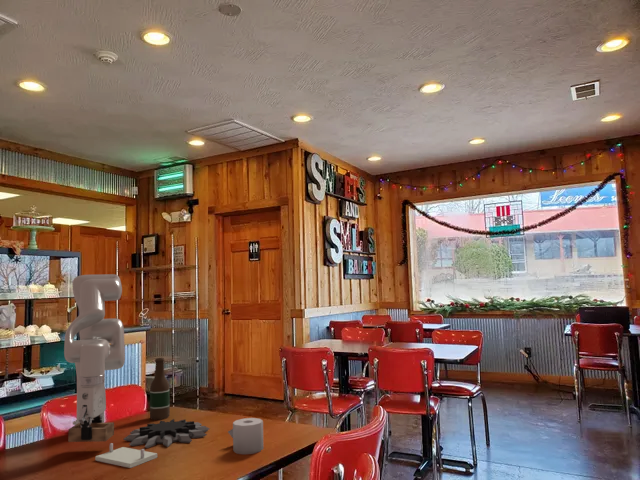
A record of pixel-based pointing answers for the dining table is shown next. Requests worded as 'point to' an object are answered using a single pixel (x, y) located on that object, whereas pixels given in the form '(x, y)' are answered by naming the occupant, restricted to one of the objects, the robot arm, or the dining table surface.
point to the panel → (126, 456)
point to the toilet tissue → (247, 435)
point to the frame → (98, 432)
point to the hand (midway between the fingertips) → (91, 435)
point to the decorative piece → (166, 433)
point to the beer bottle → (159, 393)
